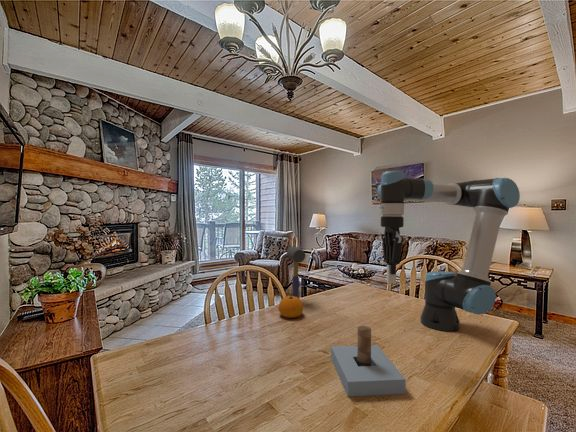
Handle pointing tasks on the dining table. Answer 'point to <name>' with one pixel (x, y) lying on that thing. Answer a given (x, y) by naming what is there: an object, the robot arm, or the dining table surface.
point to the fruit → (290, 307)
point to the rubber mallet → (295, 267)
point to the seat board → (367, 372)
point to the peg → (364, 346)
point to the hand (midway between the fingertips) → (391, 282)
